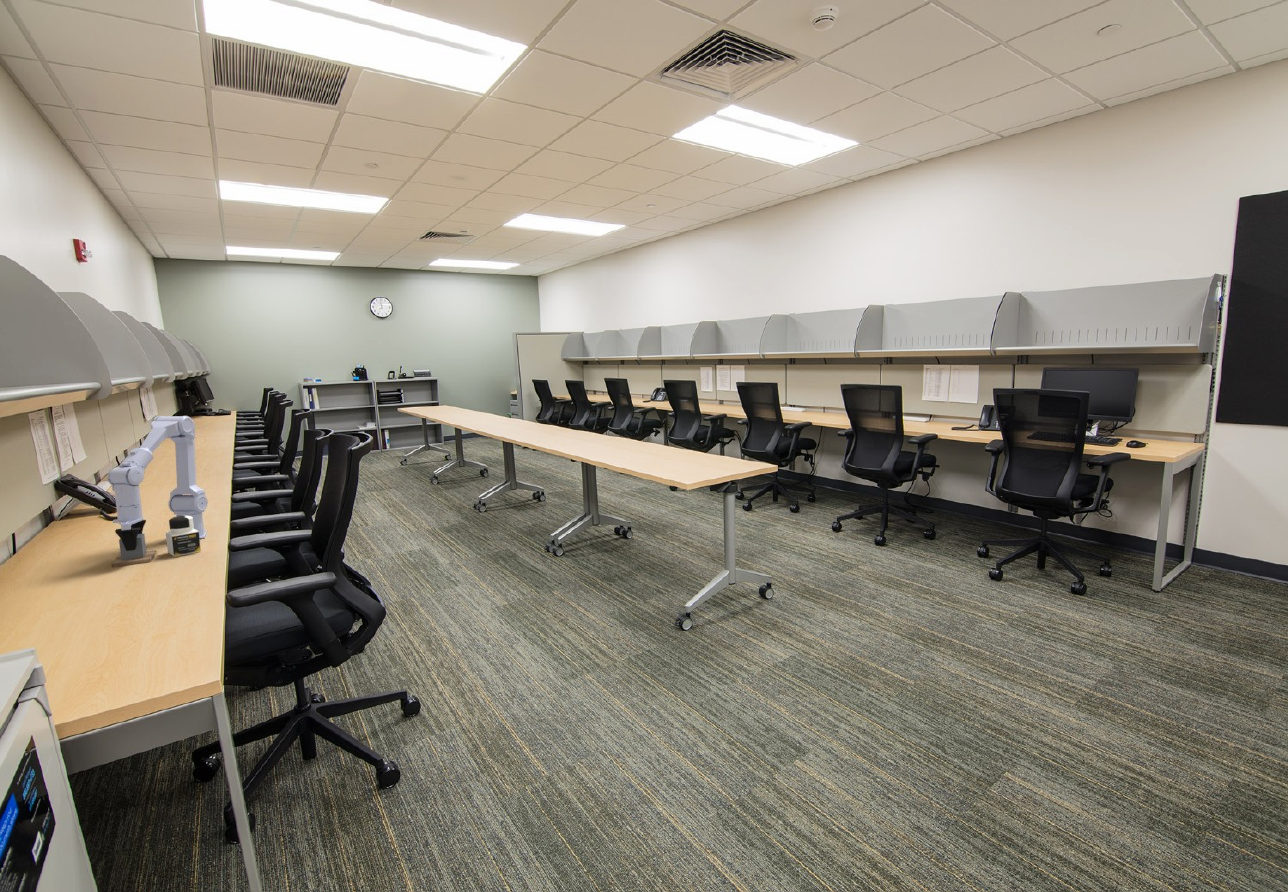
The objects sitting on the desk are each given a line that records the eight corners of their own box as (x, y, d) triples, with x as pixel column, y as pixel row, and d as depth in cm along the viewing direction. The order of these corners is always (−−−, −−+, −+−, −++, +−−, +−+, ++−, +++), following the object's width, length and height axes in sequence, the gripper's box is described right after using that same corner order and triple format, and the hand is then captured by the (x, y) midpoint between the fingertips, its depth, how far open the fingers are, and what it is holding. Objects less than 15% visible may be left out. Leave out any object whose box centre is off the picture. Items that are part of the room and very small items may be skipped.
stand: (119, 557, 179) (117, 539, 178) (156, 553, 184) (154, 535, 183) (112, 567, 171) (109, 548, 170) (150, 561, 176) (148, 543, 175)
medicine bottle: (173, 557, 180) (170, 520, 179) (167, 552, 184) (163, 517, 183) (201, 551, 186) (197, 516, 184) (194, 547, 190) (190, 513, 189)
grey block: (124, 556, 178) (122, 535, 177) (146, 553, 181) (144, 533, 180) (121, 560, 174) (118, 539, 173) (143, 557, 176) (141, 537, 176)
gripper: (116, 501, 179) (121, 542, 181) (105, 511, 167) (110, 555, 169) (146, 499, 183) (150, 539, 184) (137, 508, 171) (141, 551, 172)
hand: (133, 546), depth 177 cm, fingers open, 7 cm apart
